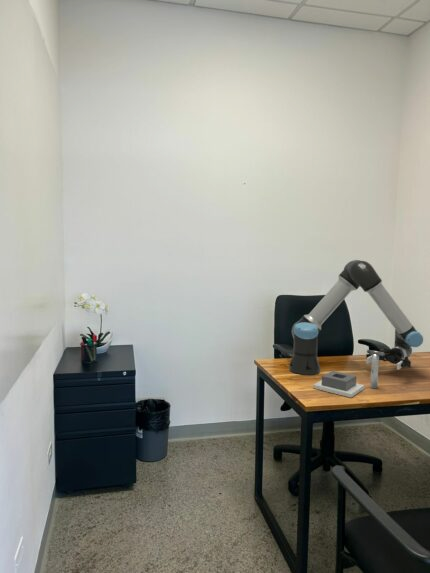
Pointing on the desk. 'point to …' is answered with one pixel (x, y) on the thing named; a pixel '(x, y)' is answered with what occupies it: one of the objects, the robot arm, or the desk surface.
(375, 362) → the chuck key
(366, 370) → the desk surface
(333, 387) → the chuck block
